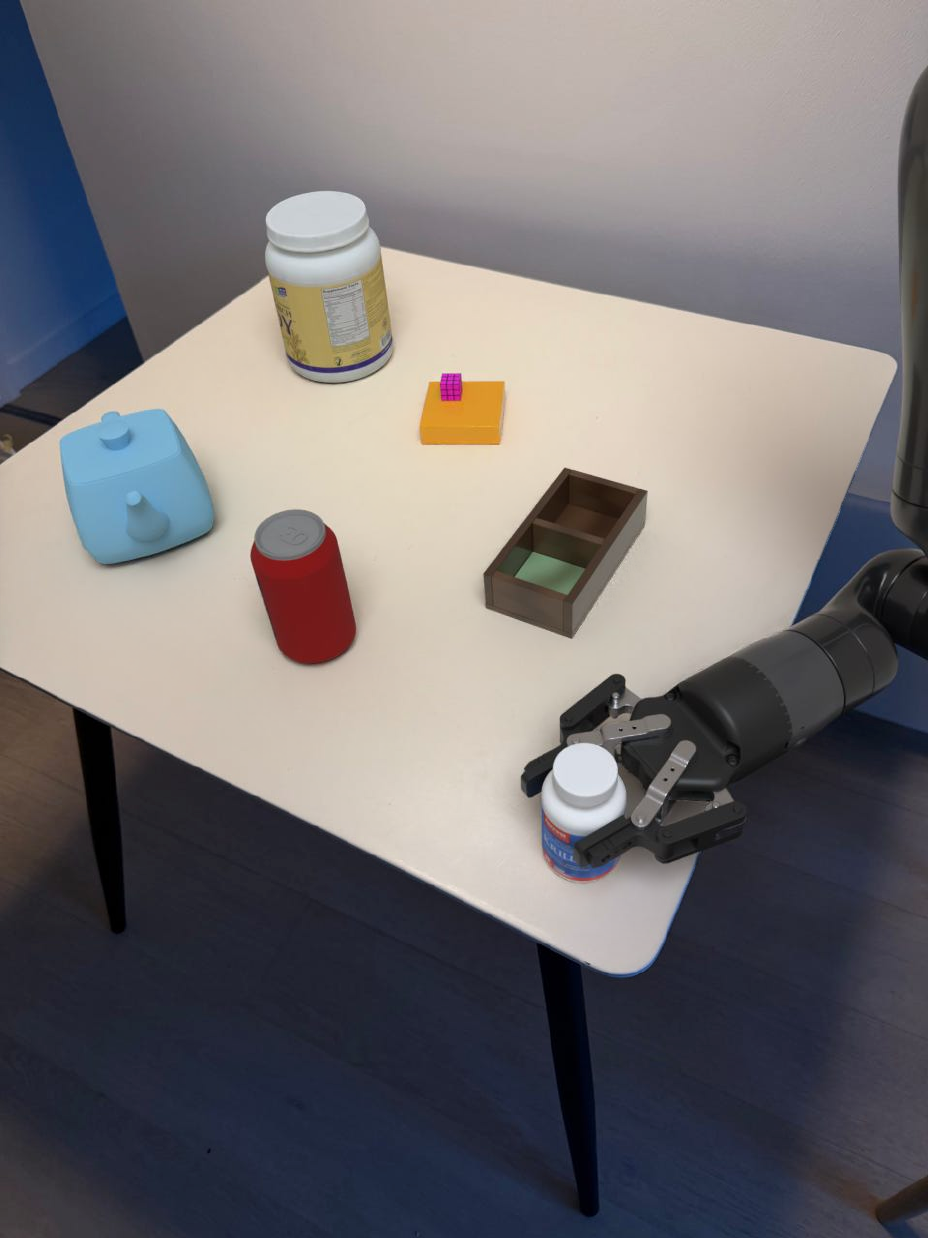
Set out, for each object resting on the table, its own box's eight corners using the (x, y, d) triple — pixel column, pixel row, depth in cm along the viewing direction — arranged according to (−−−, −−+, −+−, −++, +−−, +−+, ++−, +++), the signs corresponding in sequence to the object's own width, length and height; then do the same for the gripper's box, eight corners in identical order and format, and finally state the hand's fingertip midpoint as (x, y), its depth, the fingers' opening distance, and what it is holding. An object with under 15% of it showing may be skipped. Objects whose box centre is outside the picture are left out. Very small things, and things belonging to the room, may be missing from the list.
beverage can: (314, 599, 86) (287, 492, 78) (374, 629, 83) (352, 522, 75) (261, 648, 83) (226, 542, 74) (321, 682, 80) (292, 575, 71)
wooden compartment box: (645, 525, 90) (647, 490, 87) (572, 639, 81) (572, 604, 78) (564, 501, 93) (564, 466, 90) (485, 608, 84) (482, 573, 81)
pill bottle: (531, 872, 67) (526, 790, 60) (556, 807, 70) (554, 723, 63) (610, 896, 65) (614, 816, 58) (631, 829, 68) (638, 745, 61)
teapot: (103, 618, 86) (55, 519, 78) (75, 501, 98) (31, 403, 90) (240, 573, 89) (207, 472, 81) (197, 464, 101) (165, 366, 93)
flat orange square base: (505, 398, 105) (503, 363, 102) (500, 444, 100) (498, 409, 97) (431, 399, 106) (427, 364, 103) (421, 444, 101) (417, 409, 98)
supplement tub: (275, 347, 115) (241, 204, 103) (372, 318, 118) (350, 176, 106) (308, 400, 108) (276, 252, 95) (411, 367, 111) (392, 219, 98)
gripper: (693, 603, 69) (487, 709, 64) (845, 743, 60) (620, 879, 55) (683, 672, 75) (493, 775, 70) (822, 810, 66) (615, 939, 61)
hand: (550, 820), depth 63 cm, fingers closed on pill bottle, 5 cm apart
